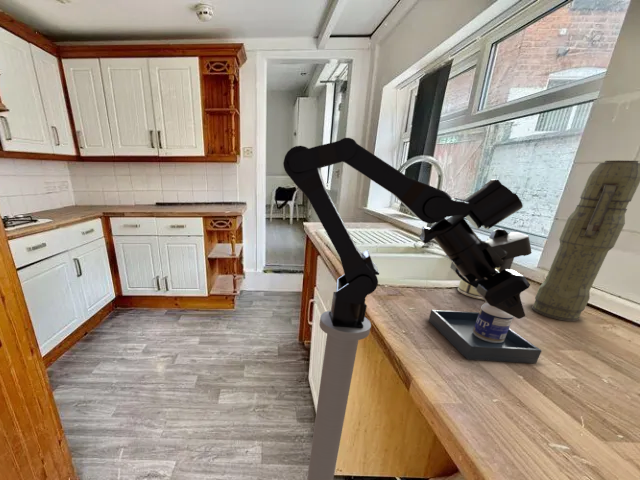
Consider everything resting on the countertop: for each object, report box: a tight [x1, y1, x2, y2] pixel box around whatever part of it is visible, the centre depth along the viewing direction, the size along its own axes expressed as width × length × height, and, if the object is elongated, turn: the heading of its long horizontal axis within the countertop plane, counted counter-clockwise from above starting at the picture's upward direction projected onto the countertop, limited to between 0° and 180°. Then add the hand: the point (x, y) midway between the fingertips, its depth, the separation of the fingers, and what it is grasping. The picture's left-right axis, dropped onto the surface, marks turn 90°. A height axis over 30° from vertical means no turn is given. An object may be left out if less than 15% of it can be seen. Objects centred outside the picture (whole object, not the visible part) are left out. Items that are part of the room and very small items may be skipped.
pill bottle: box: [473, 302, 515, 343], centre depth 60 cm, size 5×5×9 cm
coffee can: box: [457, 240, 515, 301], centre depth 84 cm, size 10×10×14 cm
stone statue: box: [531, 160, 640, 322], centre depth 70 cm, size 9×12×35 cm
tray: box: [428, 309, 543, 364], centre depth 62 cm, size 12×15×3 cm
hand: (509, 306), depth 59 cm, fingers open, 9 cm apart
